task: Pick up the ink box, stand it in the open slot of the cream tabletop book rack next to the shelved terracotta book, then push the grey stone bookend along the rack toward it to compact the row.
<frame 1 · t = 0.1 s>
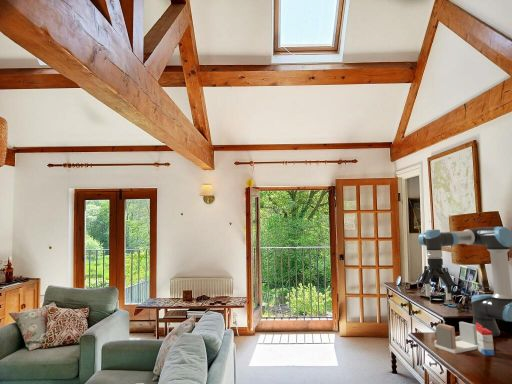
hand: (438, 297, 200), 28 cm above the sideboard, fingers open, 13 cm apart
rack: (459, 347, 203), on the sideboard
bookend: (468, 332, 206), point 7 cm above the sideboard, slide at 0.0 cm
ink box: (486, 353, 192), on the sideboard
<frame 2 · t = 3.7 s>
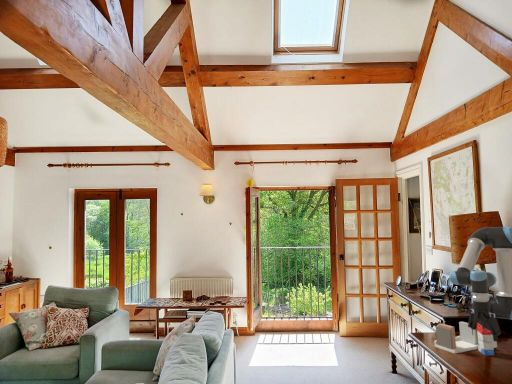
hand: (485, 344, 192), 4 cm above the sideboard, fingers closed on ink box, 9 cm apart
ink box: (486, 353, 192), on the sideboard, touching gripper
everything else where it was.
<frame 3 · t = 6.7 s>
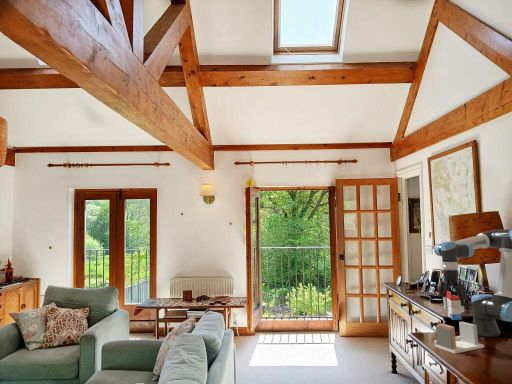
hand: (454, 310, 204), 20 cm above the sideboard, fingers closed on ink box, 9 cm apart
ink box: (454, 318, 204), point 15 cm above the sideboard, touching gripper
everything else where it was.
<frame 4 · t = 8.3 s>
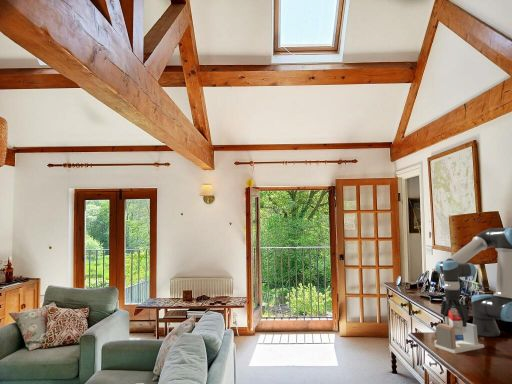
hand: (455, 330, 203), 9 cm above the sideboard, fingers closed on ink box, 9 cm apart
ink box: (456, 338, 203), point 5 cm above the sideboard, touching gripper
everything else where it was.
when the fingers open (7 cm above the sideboard, at t = 9.8 s): ink box stays where it is, resting on rack.
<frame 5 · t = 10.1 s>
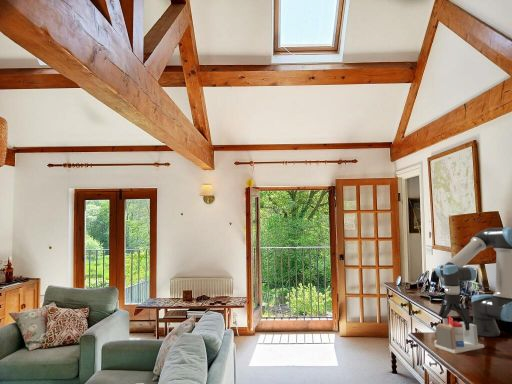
hand: (456, 333, 203), 8 cm above the sideboard, fingers open, 12 cm apart
ink box: (457, 344, 203), point 1 cm above the sideboard, touching rack
everything else where it was.
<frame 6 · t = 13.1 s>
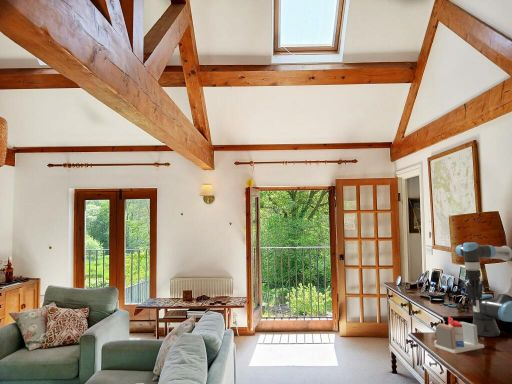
hand: (476, 311, 210), 17 cm above the sideboard, fingers closed
nothing on the sideboard moved.
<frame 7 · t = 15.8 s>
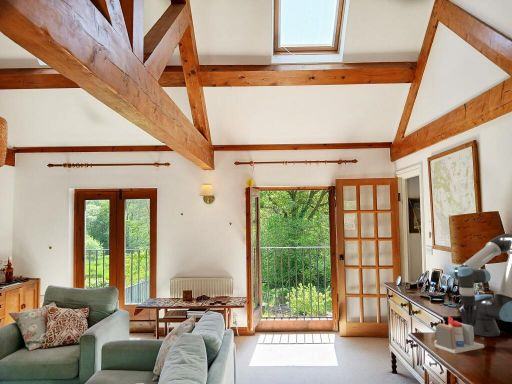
hand: (471, 338, 206), 4 cm above the sideboard, fingers closed
bookend: (464, 333, 205), point 7 cm above the sideboard, slide at 3.3 cm, touching hand
everything else where it was.
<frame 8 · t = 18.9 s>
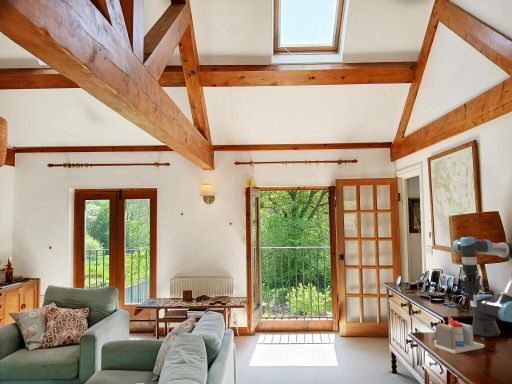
hand: (473, 306, 210), 20 cm above the sideboard, fingers closed
bookend: (464, 333, 205), point 7 cm above the sideboard, slide at 3.2 cm
everything else where it was.
at the end: ink box inside the target area (0.3 cm from its centre), point 1.3 cm above the sideboard; ink box tilted 0°; bookend slide at 3.2 cm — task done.
